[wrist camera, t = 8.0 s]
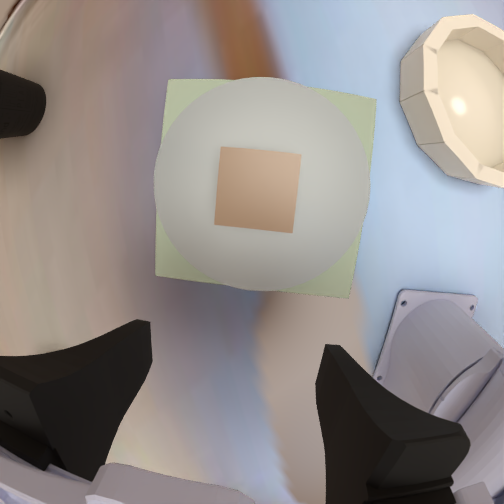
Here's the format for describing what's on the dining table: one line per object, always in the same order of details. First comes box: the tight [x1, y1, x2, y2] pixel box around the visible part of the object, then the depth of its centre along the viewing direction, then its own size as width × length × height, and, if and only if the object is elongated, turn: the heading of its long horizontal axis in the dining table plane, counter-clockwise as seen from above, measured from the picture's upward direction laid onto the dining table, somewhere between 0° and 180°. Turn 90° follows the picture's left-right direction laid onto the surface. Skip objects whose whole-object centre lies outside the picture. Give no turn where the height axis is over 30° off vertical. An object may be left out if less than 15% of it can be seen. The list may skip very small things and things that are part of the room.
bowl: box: [400, 14, 504, 188], centre depth 16 cm, size 12×12×4 cm
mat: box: [155, 79, 377, 298], centre depth 20 cm, size 14×14×1 cm
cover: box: [154, 77, 370, 291], centre depth 18 cm, size 14×14×5 cm
